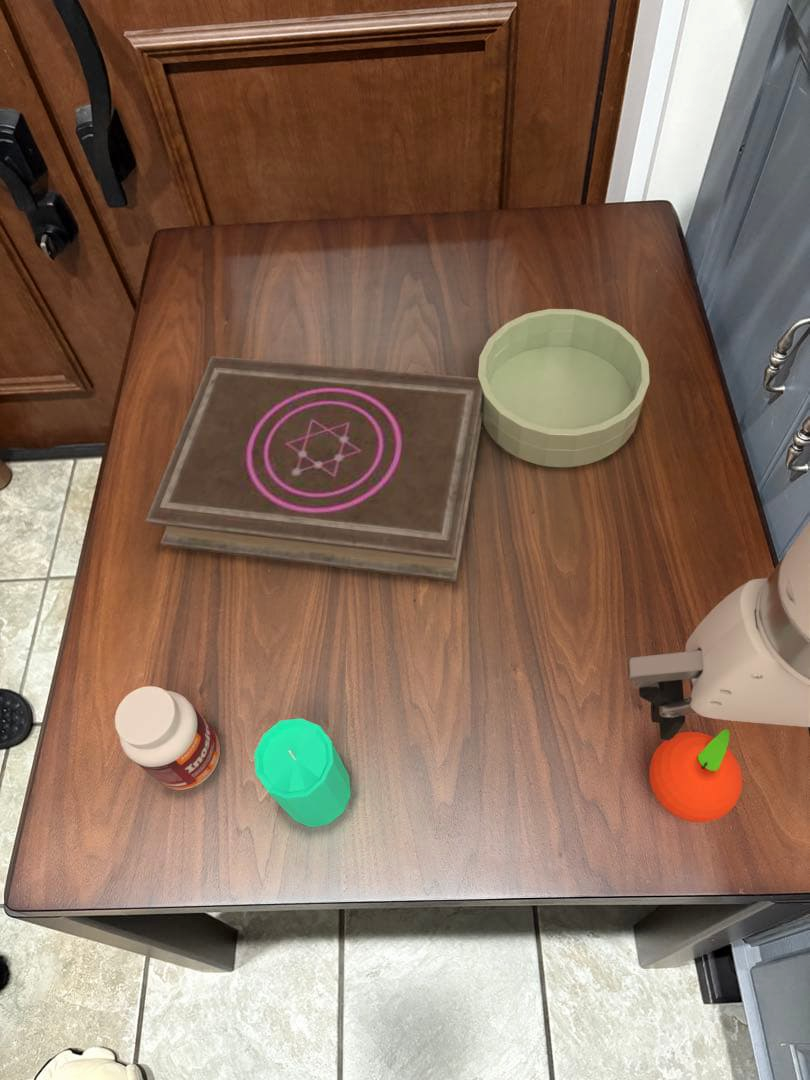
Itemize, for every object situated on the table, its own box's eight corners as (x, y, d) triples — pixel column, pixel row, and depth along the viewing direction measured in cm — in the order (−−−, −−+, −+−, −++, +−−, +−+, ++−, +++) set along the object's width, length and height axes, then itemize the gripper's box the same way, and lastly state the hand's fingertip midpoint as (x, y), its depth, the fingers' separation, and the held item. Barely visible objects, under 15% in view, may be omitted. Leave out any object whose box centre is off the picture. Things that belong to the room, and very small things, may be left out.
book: (162, 546, 82) (144, 520, 77) (224, 382, 93) (212, 352, 88) (456, 582, 77) (455, 557, 73) (485, 405, 88) (485, 374, 84)
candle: (272, 773, 69) (238, 731, 58) (336, 744, 70) (314, 698, 59) (295, 839, 66) (263, 807, 56) (361, 809, 67) (342, 772, 56)
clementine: (675, 720, 69) (695, 691, 63) (749, 770, 66) (778, 745, 60) (625, 793, 66) (641, 771, 60) (701, 849, 63) (726, 831, 57)
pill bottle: (214, 793, 68) (174, 757, 59) (145, 789, 69) (94, 753, 59) (227, 722, 71) (191, 678, 62) (161, 719, 72) (115, 675, 63)
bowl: (636, 346, 91) (645, 310, 86) (643, 471, 82) (653, 438, 78) (482, 342, 93) (483, 306, 88) (473, 463, 84) (473, 431, 80)
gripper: (1017, 556, 39) (864, 681, 54) (657, 535, 41) (604, 661, 56) (1065, 702, 35) (886, 794, 50) (666, 671, 37) (607, 769, 52)
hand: (738, 724), depth 53 cm, fingers open, 9 cm apart
